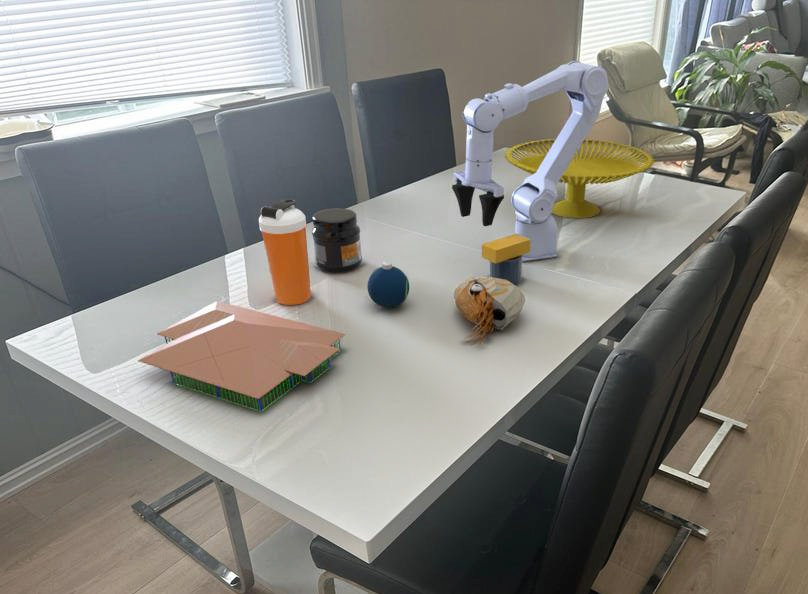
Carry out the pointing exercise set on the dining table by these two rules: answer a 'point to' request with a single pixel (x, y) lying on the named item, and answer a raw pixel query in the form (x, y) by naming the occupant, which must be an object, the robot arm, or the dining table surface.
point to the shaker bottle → (286, 251)
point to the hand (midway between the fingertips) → (476, 220)
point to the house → (243, 351)
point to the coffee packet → (505, 248)
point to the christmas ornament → (388, 286)
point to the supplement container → (336, 240)
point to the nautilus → (488, 303)
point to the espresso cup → (507, 270)
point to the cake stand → (583, 172)
